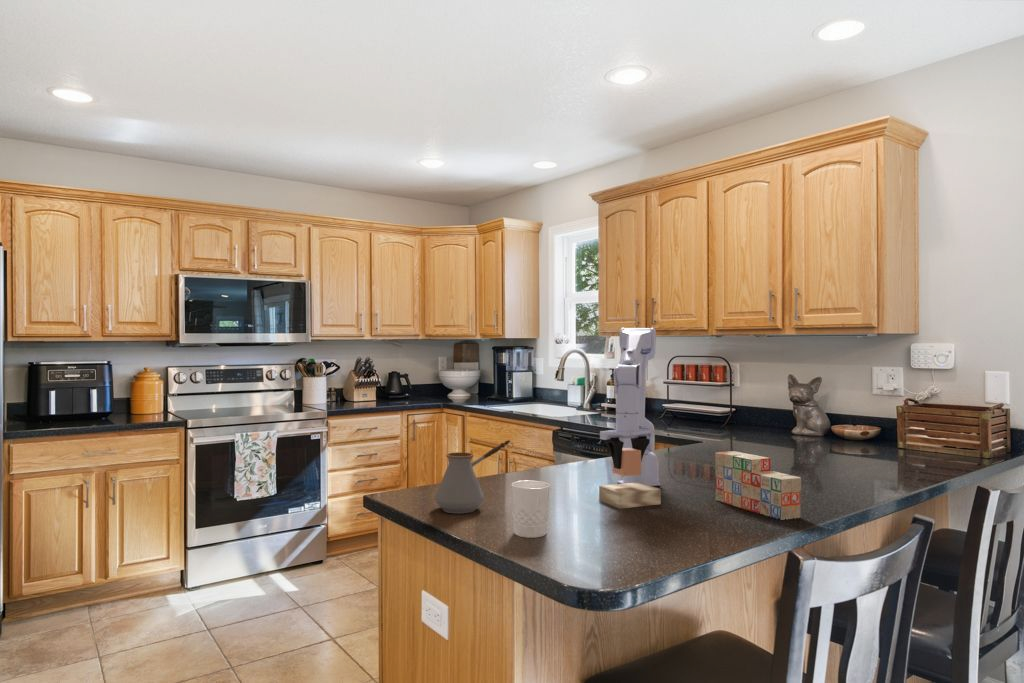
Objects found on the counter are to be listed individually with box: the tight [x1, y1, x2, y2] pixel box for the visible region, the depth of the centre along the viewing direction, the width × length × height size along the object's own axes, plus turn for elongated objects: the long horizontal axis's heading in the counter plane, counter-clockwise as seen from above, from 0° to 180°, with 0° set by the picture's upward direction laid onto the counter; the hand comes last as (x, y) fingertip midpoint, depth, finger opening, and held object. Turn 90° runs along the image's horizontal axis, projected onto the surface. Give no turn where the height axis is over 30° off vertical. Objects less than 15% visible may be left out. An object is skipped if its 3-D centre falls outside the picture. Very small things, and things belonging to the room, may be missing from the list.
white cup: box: [510, 479, 551, 539], centre depth 131 cm, size 8×8×10 cm
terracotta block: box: [612, 448, 641, 477], centre depth 159 cm, size 5×5×6 cm
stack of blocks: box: [714, 450, 802, 521], centre depth 153 cm, size 21×6×12 cm, turn 23°
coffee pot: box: [434, 439, 514, 514], centre depth 153 cm, size 21×12×15 cm, turn 130°
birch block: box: [598, 482, 662, 510], centre depth 159 cm, size 12×9×4 cm
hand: (627, 467), depth 159 cm, fingers closed on terracotta block, 5 cm apart
